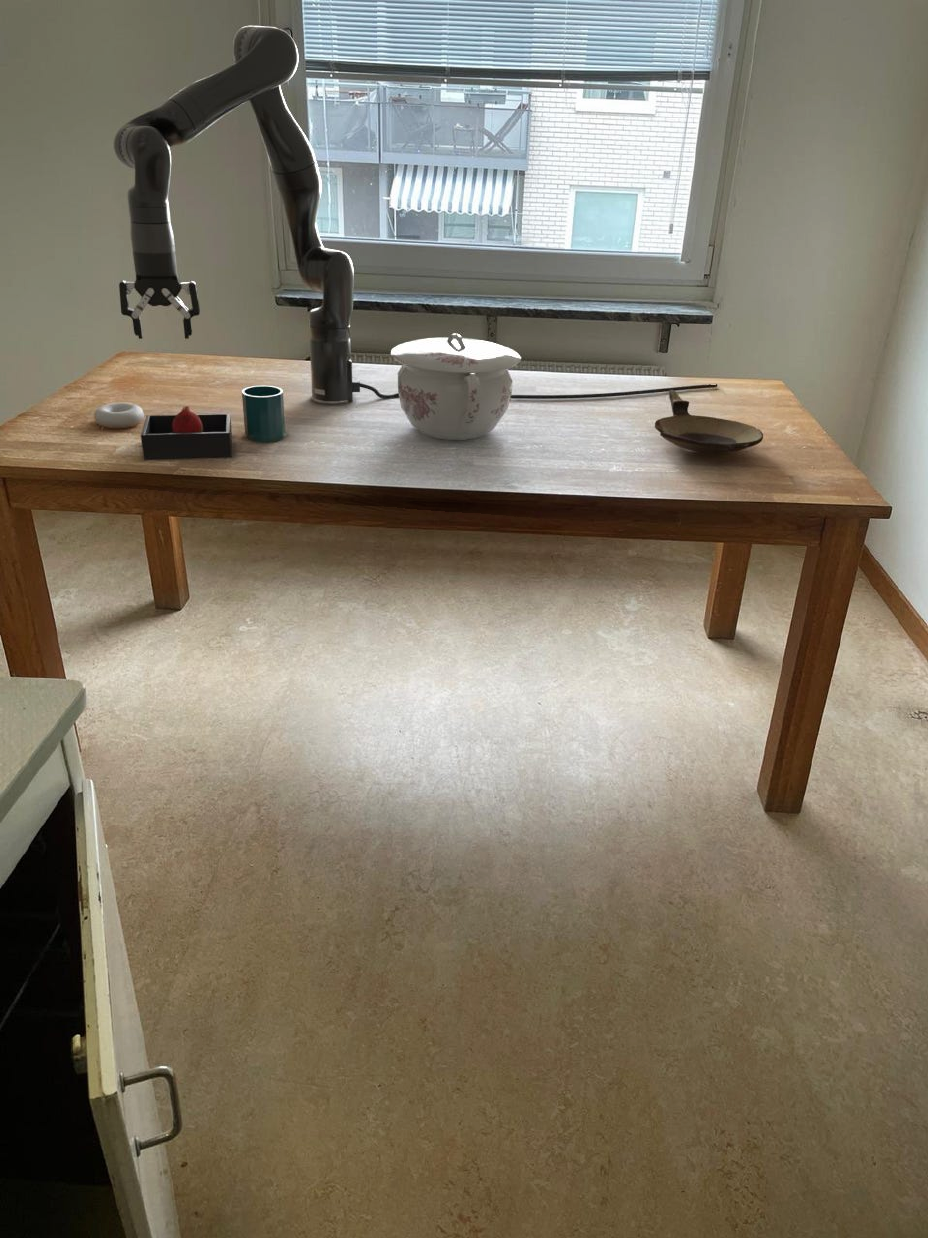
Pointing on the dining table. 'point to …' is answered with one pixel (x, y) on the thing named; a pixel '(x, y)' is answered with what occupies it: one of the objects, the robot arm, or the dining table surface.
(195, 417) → the onion
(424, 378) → the chamber pot
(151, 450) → the black open box
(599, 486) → the dining table surface
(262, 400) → the cup
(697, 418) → the frying pan
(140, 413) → the donut
